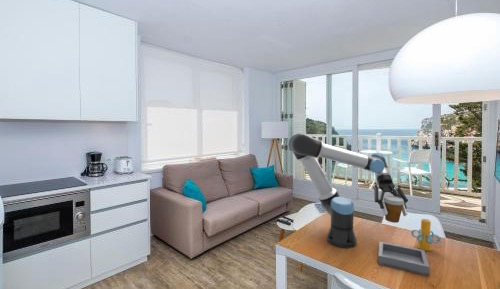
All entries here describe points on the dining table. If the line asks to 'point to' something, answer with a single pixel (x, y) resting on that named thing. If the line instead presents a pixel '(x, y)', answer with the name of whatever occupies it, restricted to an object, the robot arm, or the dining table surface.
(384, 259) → the grey tray
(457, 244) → the dining table surface
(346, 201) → the robot arm
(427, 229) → the yellow post with rings
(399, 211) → the disposable coffee cup
